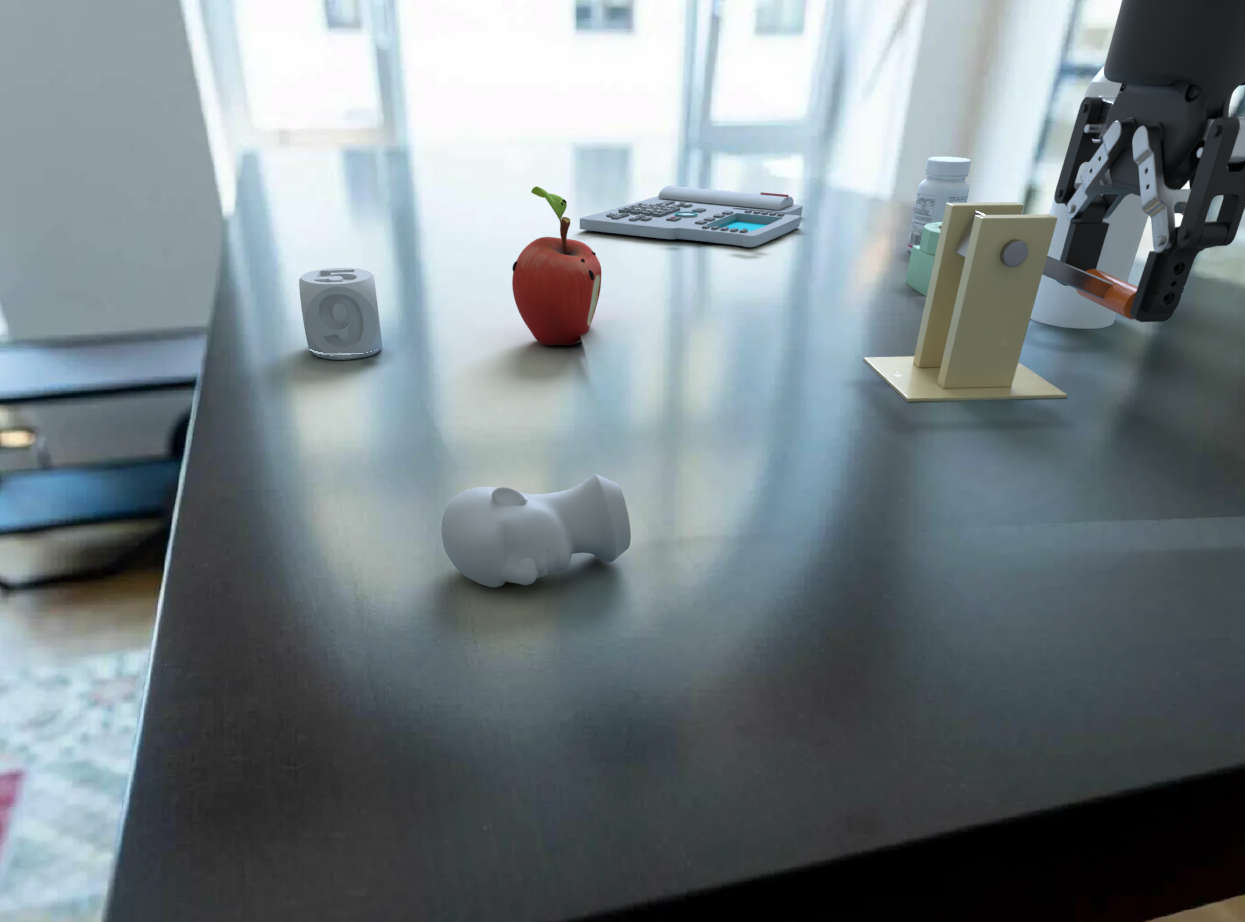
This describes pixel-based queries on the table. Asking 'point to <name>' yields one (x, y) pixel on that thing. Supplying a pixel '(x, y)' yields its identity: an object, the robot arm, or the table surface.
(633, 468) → the table surface
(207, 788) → the table surface
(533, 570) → the white mannequin head
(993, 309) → the switch bracket
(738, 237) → the office telephone
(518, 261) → the apple
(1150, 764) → the table surface
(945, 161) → the pill bottle
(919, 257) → the button block
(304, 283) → the die
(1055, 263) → the switch lever
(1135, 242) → the can
